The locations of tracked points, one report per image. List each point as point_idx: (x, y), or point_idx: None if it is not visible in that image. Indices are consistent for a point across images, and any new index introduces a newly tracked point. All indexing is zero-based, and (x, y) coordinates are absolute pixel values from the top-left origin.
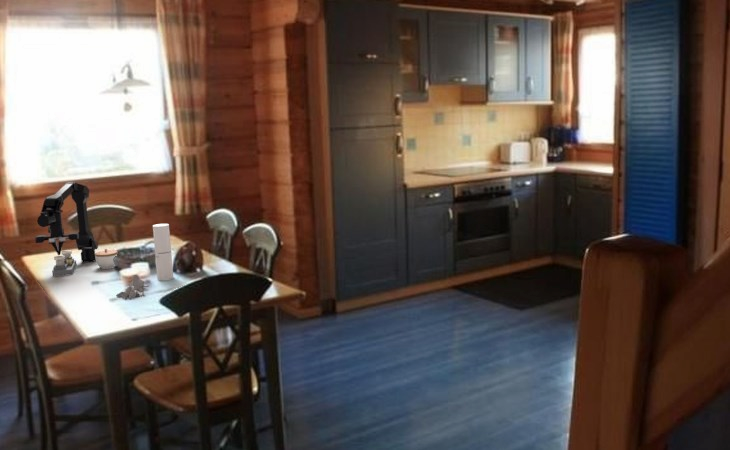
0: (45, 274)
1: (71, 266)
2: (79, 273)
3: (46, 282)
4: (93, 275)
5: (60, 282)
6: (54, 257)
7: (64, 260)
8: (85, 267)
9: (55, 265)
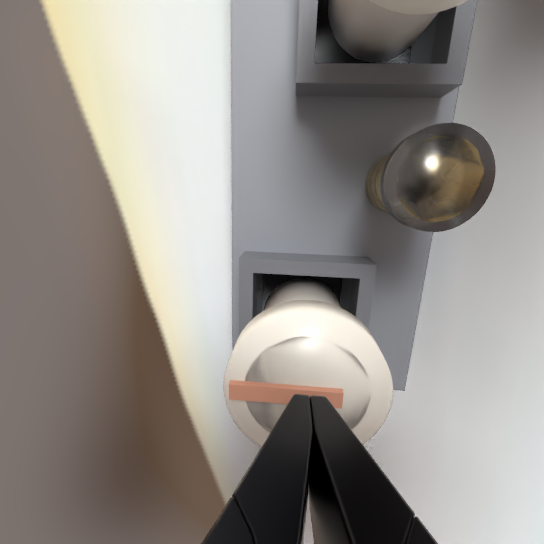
0: (173, 255)
1: (409, 261)
2: (445, 357)
3: (223, 497)
4: (536, 470)
5: (308, 536)
6: (235, 421)
7: (346, 27)
8: (538, 114)
9: (248, 289)
